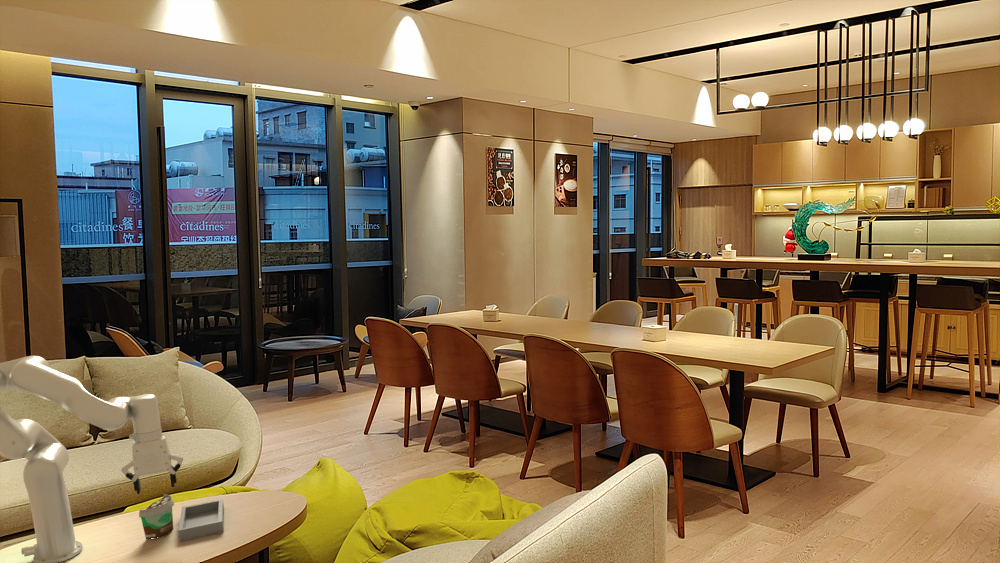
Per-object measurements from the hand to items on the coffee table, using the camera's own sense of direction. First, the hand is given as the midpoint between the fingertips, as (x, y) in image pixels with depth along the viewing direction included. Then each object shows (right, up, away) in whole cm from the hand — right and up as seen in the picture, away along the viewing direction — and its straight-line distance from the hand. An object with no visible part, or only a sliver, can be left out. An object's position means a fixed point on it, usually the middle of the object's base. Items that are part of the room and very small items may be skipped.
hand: (156, 489), depth 226 cm
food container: (+2, -14, +2) cm, 15 cm away
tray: (+12, -13, +6) cm, 18 cm away
